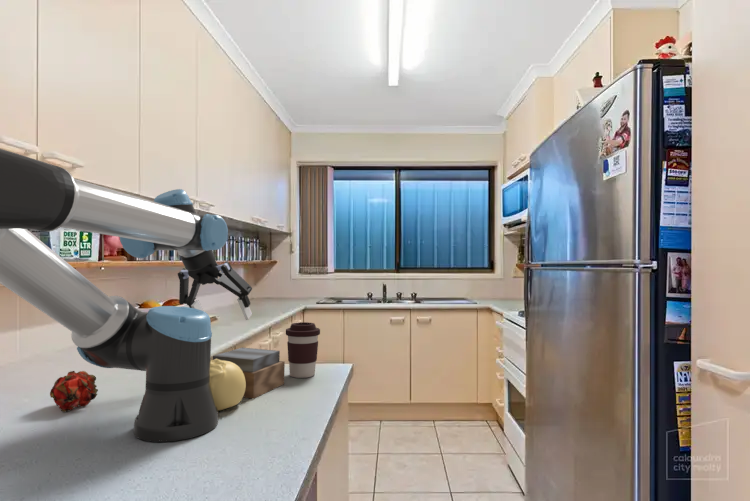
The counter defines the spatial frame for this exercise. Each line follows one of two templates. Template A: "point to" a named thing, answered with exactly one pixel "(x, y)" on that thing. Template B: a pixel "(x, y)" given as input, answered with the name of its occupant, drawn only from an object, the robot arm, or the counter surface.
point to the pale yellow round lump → (226, 383)
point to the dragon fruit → (74, 390)
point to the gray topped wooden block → (257, 369)
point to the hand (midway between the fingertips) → (226, 319)
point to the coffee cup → (302, 349)
